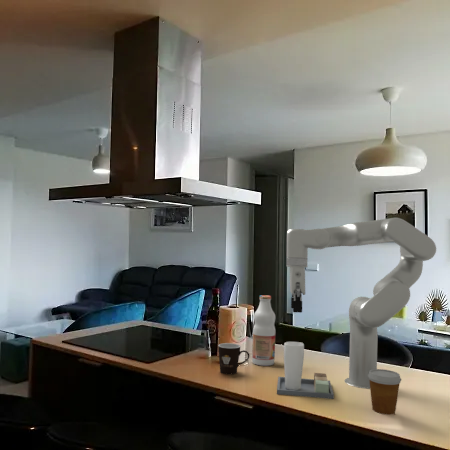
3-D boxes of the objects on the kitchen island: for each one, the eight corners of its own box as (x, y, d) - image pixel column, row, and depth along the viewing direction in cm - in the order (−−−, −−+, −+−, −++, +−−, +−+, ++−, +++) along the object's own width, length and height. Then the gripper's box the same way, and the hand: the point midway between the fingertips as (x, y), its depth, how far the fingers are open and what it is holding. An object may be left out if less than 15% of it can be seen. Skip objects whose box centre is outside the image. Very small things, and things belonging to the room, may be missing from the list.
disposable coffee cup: (366, 416, 130) (366, 374, 131) (367, 406, 139) (368, 367, 140) (400, 422, 127) (401, 379, 128) (400, 411, 136) (401, 371, 137)
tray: (329, 387, 157) (329, 380, 157) (333, 402, 142) (333, 394, 142) (278, 383, 159) (278, 376, 159) (276, 397, 144) (276, 389, 145)
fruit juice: (248, 361, 189) (250, 294, 190) (267, 359, 193) (269, 294, 194) (258, 366, 180) (260, 297, 182) (278, 365, 184) (280, 297, 185)
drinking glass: (289, 384, 156) (290, 340, 156) (306, 388, 151) (307, 343, 152) (278, 388, 150) (280, 343, 151) (296, 393, 146) (297, 346, 147)
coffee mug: (212, 371, 171) (213, 345, 172) (227, 367, 177) (228, 342, 178) (235, 378, 163) (236, 350, 164) (250, 374, 170) (251, 347, 170)
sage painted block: (327, 393, 147) (327, 381, 147) (328, 397, 143) (328, 384, 143) (315, 392, 148) (315, 380, 148) (315, 396, 144) (316, 383, 144)
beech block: (326, 389, 151) (326, 377, 152) (327, 392, 147) (327, 380, 148) (314, 388, 152) (314, 376, 152) (315, 391, 148) (315, 379, 148)
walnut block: (325, 385, 156) (325, 373, 156) (326, 388, 152) (326, 376, 152) (313, 384, 156) (314, 372, 157) (314, 387, 152) (314, 375, 153)
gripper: (309, 264, 153) (309, 314, 152) (305, 262, 170) (304, 307, 170) (287, 263, 154) (287, 313, 153) (285, 261, 171) (284, 306, 170)
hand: (296, 310), depth 161 cm, fingers open, 9 cm apart
